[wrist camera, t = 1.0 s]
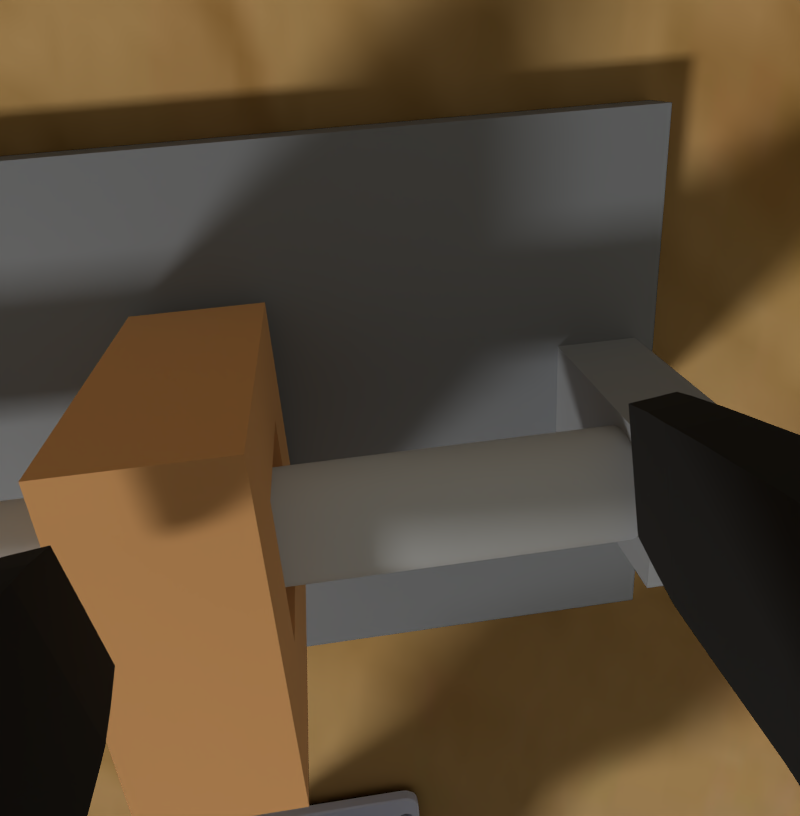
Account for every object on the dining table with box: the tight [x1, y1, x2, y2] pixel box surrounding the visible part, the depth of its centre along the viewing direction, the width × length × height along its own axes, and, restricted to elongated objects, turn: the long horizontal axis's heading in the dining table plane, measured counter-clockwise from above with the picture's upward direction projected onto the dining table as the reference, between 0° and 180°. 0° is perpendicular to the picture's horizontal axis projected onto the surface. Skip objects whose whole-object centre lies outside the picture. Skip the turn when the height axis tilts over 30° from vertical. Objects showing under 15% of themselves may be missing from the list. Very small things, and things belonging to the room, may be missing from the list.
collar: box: [19, 302, 309, 816], centre depth 15 cm, size 7×3×7 cm, turn 4°
